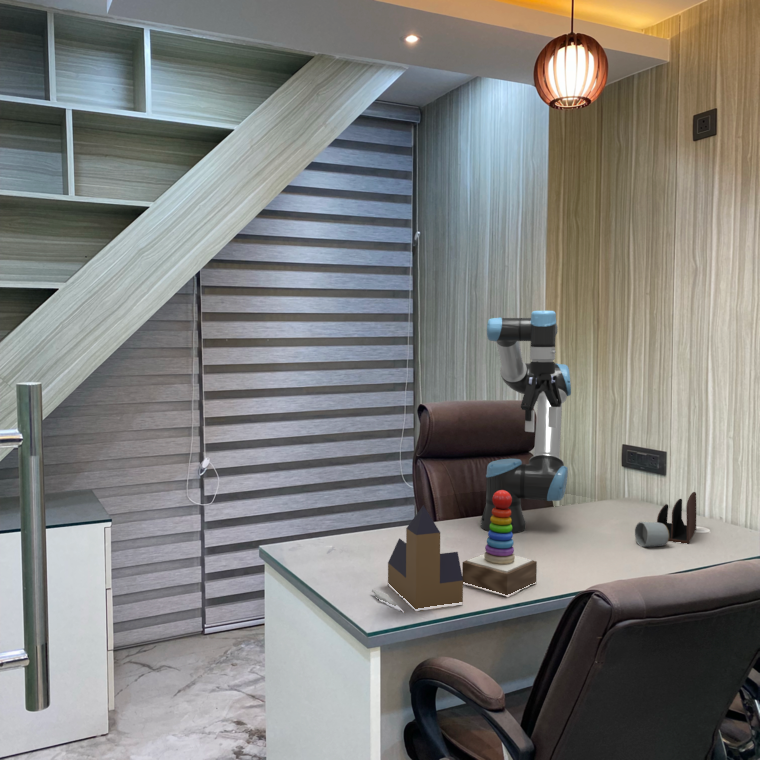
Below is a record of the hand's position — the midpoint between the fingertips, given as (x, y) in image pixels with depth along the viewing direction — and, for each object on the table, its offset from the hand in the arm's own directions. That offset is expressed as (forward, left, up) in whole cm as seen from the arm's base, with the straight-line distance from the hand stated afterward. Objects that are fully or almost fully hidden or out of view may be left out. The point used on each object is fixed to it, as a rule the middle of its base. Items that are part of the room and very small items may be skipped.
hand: (541, 429), depth 221 cm
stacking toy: (+10, -37, -30) cm, 49 cm away
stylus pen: (-2, -68, -37) cm, 77 cm away
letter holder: (+26, +43, -37) cm, 63 cm away
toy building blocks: (+1, -57, -37) cm, 68 cm away
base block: (+10, -37, -37) cm, 53 cm away
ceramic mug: (+24, +26, -37) cm, 51 cm away
